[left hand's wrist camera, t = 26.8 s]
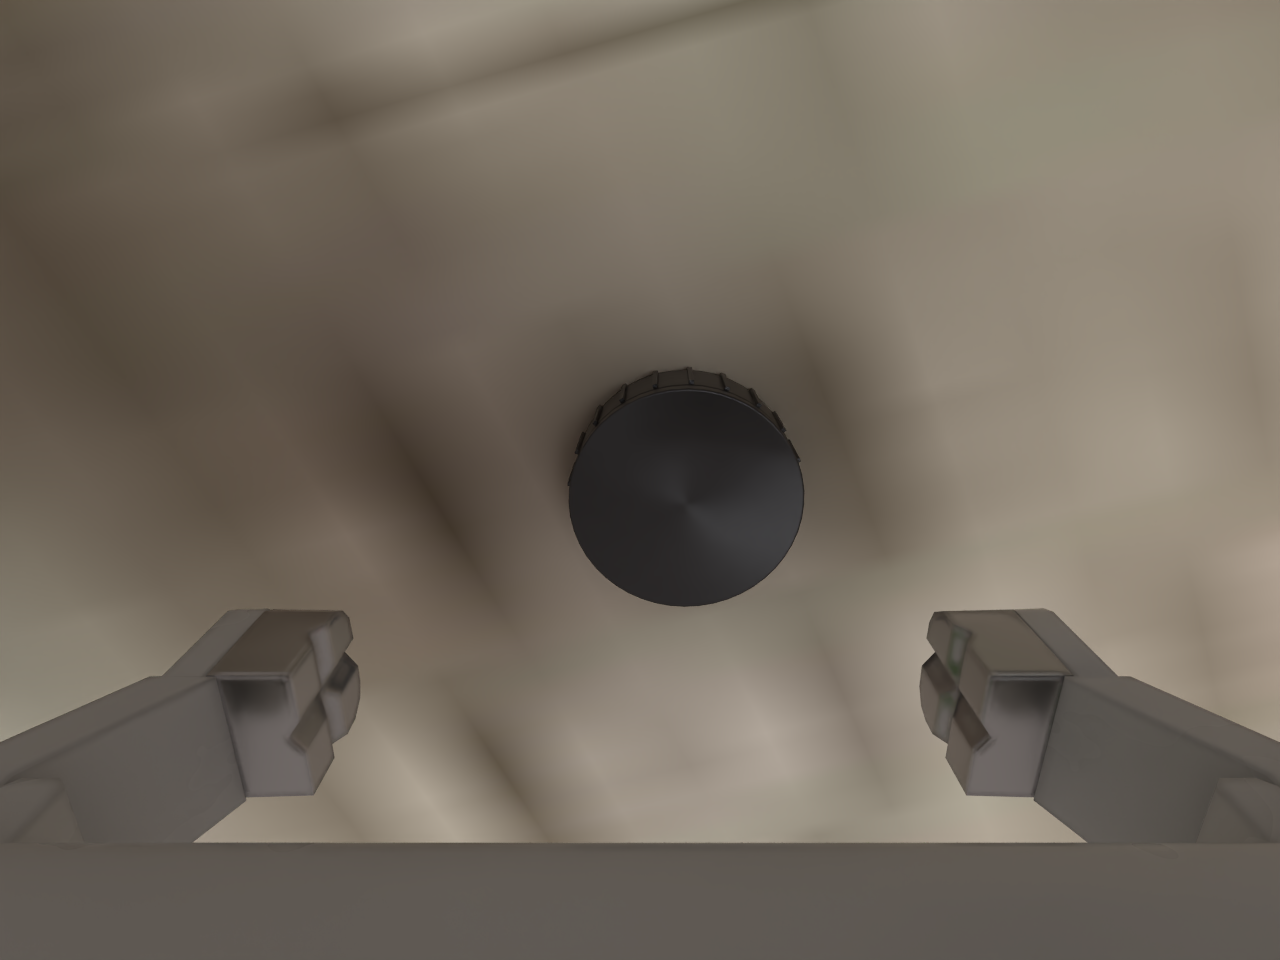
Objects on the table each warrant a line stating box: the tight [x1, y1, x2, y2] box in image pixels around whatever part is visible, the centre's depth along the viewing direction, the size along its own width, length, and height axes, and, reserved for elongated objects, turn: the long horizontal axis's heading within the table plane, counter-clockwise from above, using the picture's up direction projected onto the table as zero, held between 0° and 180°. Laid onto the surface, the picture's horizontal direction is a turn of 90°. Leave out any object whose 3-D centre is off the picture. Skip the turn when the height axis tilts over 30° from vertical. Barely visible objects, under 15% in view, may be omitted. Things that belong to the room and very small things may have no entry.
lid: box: [568, 367, 804, 607], centre depth 17 cm, size 6×6×2 cm
